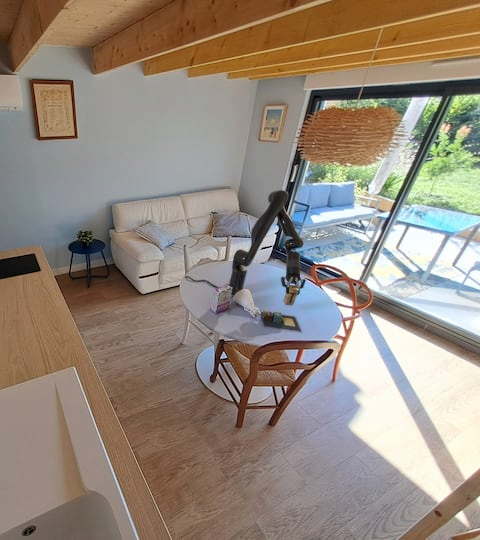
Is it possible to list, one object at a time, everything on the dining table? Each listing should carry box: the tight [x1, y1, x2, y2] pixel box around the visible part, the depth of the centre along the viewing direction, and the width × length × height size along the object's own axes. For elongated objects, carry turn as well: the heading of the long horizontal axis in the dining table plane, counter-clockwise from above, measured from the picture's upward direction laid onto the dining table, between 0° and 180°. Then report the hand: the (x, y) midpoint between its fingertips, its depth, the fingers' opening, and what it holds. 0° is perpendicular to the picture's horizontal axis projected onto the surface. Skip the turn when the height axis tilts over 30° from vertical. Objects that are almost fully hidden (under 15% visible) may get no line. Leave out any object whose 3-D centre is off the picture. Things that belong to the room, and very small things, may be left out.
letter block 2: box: [272, 311, 283, 323], centre depth 173 cm, size 4×4×5 cm
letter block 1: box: [261, 310, 273, 322], centre depth 174 cm, size 4×4×5 cm
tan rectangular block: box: [282, 284, 299, 307], centre depth 176 cm, size 5×5×12 cm
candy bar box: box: [210, 284, 233, 314], centre depth 181 cm, size 11×5×16 cm, turn 117°
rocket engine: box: [232, 288, 262, 318], centre depth 183 cm, size 12×12×18 cm
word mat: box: [260, 311, 302, 332], centre depth 173 cm, size 20×14×1 cm
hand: (292, 294), depth 174 cm, fingers closed on tan rectangular block, 4 cm apart
